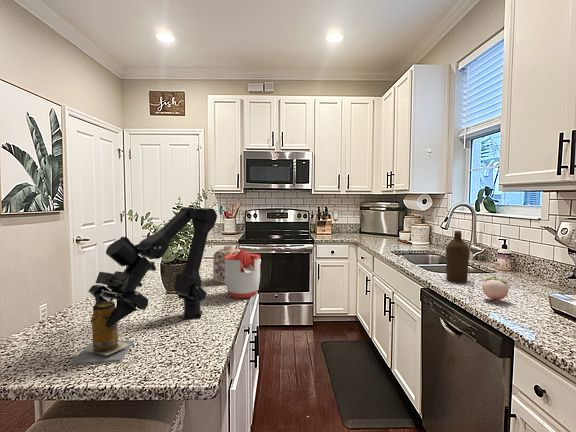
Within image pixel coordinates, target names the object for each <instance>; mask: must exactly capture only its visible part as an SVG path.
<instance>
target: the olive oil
mask: <svg viewBox="0 0 576 432" xmlns="http://www.w3.org/2000/svg"><path fill="white" fill-rule="evenodd" d="M462 236H463V235H462V231H461V230H454V233H453V239H451V241H450V242H448V243H447V245H446V247H445V265H446V267H445V270H446V280H448V281H450V282H454V283H466V282H467V281H468V274H469V271H468V270H469V262H470V261H469V260H470V248H469V245H468V244H467V243H466V242H465V241H464V240H463V239H462Z"/></svg>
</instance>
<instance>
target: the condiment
mask: <svg viewBox="0 0 576 432" xmlns="http://www.w3.org/2000/svg"><path fill="white" fill-rule="evenodd" d="M115 308H116V303H115V302H114V301H111V302H101V303H97V304H96V303H95V304H94V305H93V306H92V315H93V316H92V315H91V318H92V323H91V326H92V327H91V330H92V334H91V335H92V343H93V347H90V348H88V349H86V351H89V352H94V353H99V354H104V355H109V354H111V353H114V352H116V351H118V350H120V349H122V348H124V347H126V346H128V345H130V344H127V343H123V342H118V341H119V338H118V337H119V333H118V331H119V328H118V322H117V323H115V324H114V325H112V326H111V327H109V328H108V327H106V324H107V322H108V320H109V318H110V316H111V315H112V313H113V311H114V309H115ZM93 313H94V314H93Z"/></svg>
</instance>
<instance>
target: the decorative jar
mask: <svg viewBox="0 0 576 432" xmlns="http://www.w3.org/2000/svg"><path fill="white" fill-rule="evenodd" d="M240 250H241V249H240V248H236V247H234V245H231V244H229V245H227V244H226V245H224V246H223V248H221V249H218V250H216V251H215V253H214V254H213V256H212V257H213V259H212V260H213V261H212V262H213V263H212V265H213V266H212V268H213V270H212V271H213V274H212V275H213V276H212V277H213V278H212V279H213V282H215V283H219V284H223V285H226V282H225V258H224V256H226V255H231V254H238V252H239V251H240Z"/></svg>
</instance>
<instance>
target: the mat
mask: <svg viewBox="0 0 576 432" xmlns="http://www.w3.org/2000/svg"><path fill="white" fill-rule="evenodd" d="M118 342H123V343H127V344H130V345H128V346H126V347H124V348H122V349H120V350H118V351H116V352H114V353H111V354H109V355H104V354H99V353H94V352H89V351H86V349H88V348H90V347H93V342H90V343H89V344H87V346H85V347H84V348H83V349H82V350H81V351H80V353H78V354H77V355H76V356H75V357H74V358H73V359H72V360H71V361H70V362H69V366H73V365H76V366H77V365H88V364H100V363H101V364H102V363H115V362H118V363H119V362H121V361H122V360H123V358H124V357H125V356H126V354H127V353H128V352H129V350H130V348H132V346H133V344H134V343H135V340H134V339H131V340H130V339H129V340H118Z"/></svg>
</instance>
